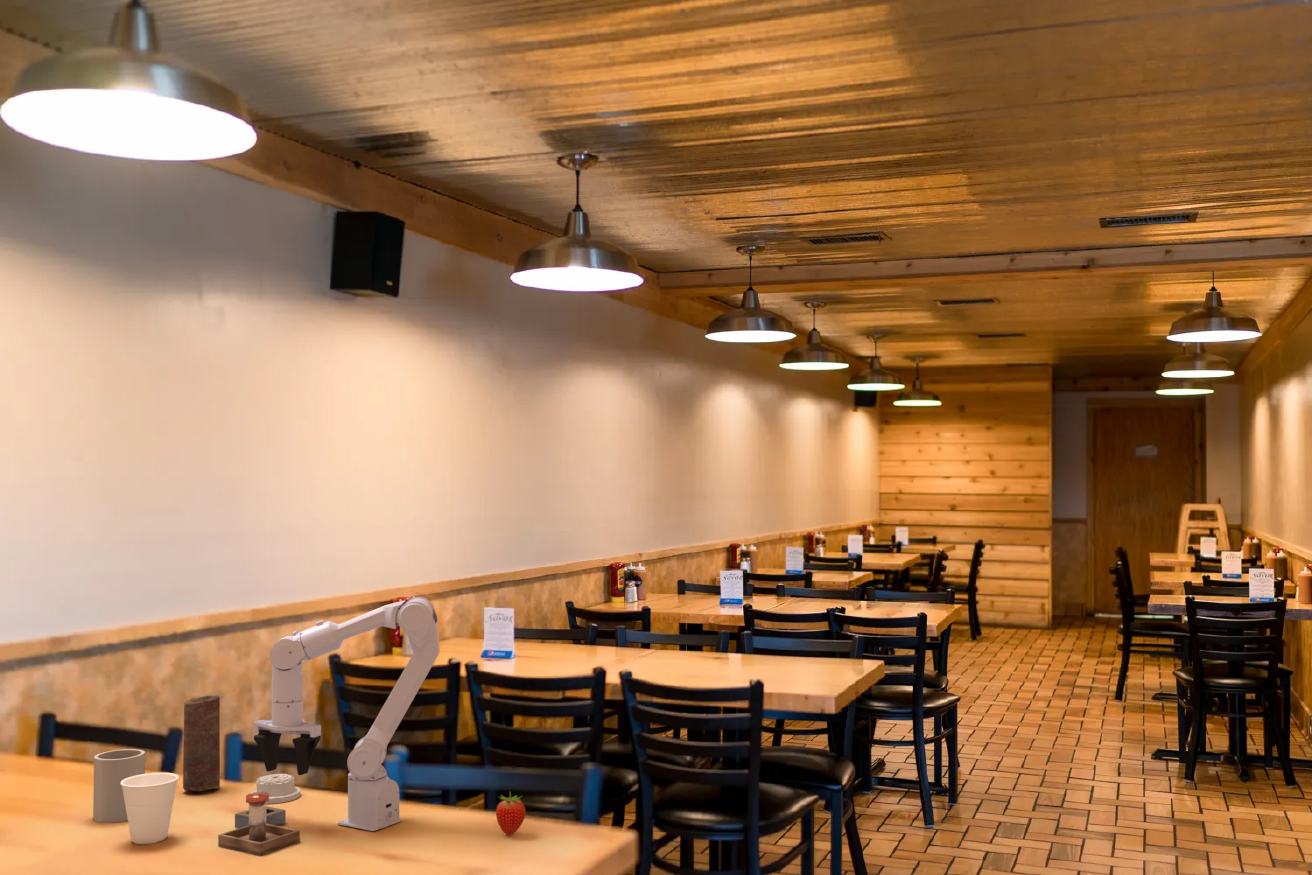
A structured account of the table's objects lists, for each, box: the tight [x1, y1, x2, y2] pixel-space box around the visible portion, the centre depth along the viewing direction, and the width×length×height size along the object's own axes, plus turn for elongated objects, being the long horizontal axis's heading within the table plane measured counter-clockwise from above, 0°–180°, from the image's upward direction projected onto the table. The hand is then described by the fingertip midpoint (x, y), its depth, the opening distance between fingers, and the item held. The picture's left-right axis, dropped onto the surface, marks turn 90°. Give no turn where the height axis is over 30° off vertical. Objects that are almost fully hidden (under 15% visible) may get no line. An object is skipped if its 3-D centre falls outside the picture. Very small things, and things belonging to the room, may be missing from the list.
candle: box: [182, 694, 221, 793], centre depth 245 cm, size 8×7×20 cm
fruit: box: [495, 791, 526, 836], centre depth 212 cm, size 5×5×8 cm
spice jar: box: [245, 792, 269, 842], centre depth 209 cm, size 4×4×8 cm
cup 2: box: [120, 772, 180, 845], centre depth 211 cm, size 10×10×11 cm
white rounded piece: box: [249, 773, 301, 805], centre depth 239 cm, size 10×4×10 cm
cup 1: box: [92, 748, 146, 824], centre depth 227 cm, size 9×9×12 cm
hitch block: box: [234, 805, 287, 829], centre depth 219 cm, size 6×6×2 cm
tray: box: [217, 824, 301, 856], centre depth 208 cm, size 11×9×2 cm
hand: (287, 772), depth 219 cm, fingers open, 7 cm apart
